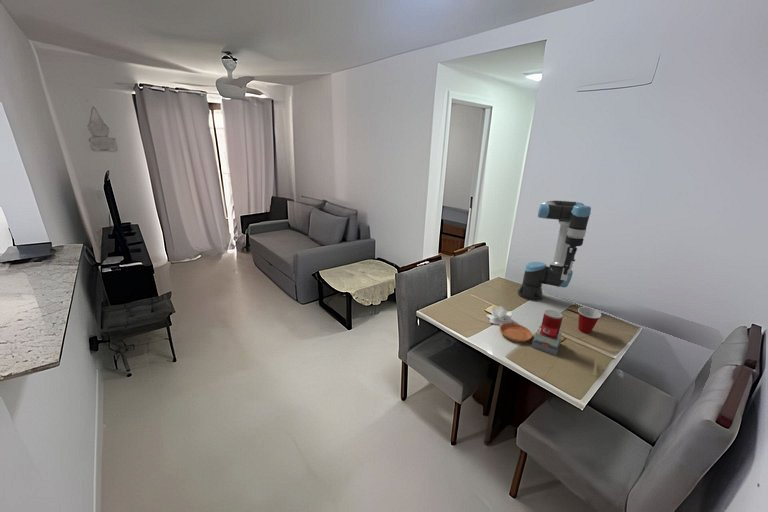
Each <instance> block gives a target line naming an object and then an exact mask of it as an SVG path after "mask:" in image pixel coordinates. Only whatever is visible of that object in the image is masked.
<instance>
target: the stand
mask: <svg viewBox="0 0 768 512" xmlns="http://www.w3.org/2000/svg"><path fill="white" fill-rule="evenodd" d="M562 335H563V332H562V331H559V334H558V336H557V337H549V336H546V335H544V334H543V333H542V332H541V325H539V327H538V329H537V330H536V332H535V335H534V338H533V340H532V343H531V348H533V349H536V350H539V351H541V352H544V353H547V354H550V355H553V356H557V355H558V352H559V348H560V346H561V344H562V343H561V342H562V339H563V338H562Z"/></svg>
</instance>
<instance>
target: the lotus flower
mask: <svg viewBox="0 0 768 512" xmlns="http://www.w3.org/2000/svg"><path fill="white" fill-rule="evenodd" d="M490 312H491V314H490V313H488V314H486V317H487V318H488V319H489V322H490V323H492V324H494V325H499V327H500V326H501V325H502V324H504V323H515V320H514V319H513V316H514V314H513V313H512V311H507V309H506V308H504V307H503V306H502V305H499V306H498V307H497V308H496V307H494V306H492V308H491V309H490Z"/></svg>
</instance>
